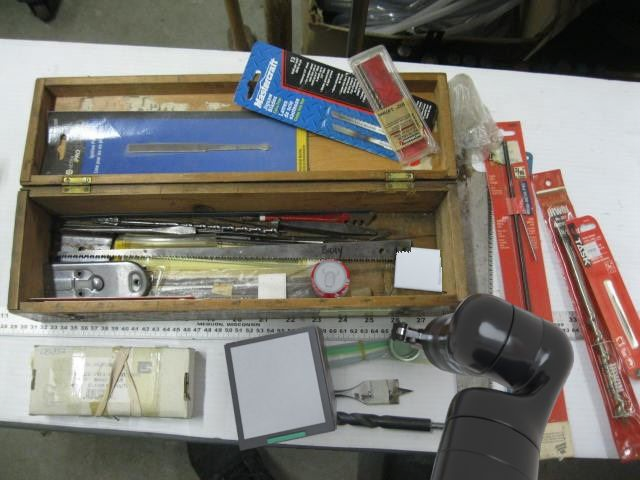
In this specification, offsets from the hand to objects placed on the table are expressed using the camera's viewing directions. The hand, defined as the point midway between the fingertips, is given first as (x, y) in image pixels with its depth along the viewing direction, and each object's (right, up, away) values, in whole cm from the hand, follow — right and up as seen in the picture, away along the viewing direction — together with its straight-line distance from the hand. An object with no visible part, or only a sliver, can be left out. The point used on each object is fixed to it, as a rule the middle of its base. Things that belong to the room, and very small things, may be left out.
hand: (431, 342), depth 73 cm
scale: (-23, -3, -11) cm, 26 cm away
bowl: (-2, -4, +14) cm, 15 cm away
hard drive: (+3, +10, +17) cm, 20 cm away
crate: (-22, -9, +14) cm, 28 cm away
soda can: (-16, +8, +17) cm, 24 cm away
